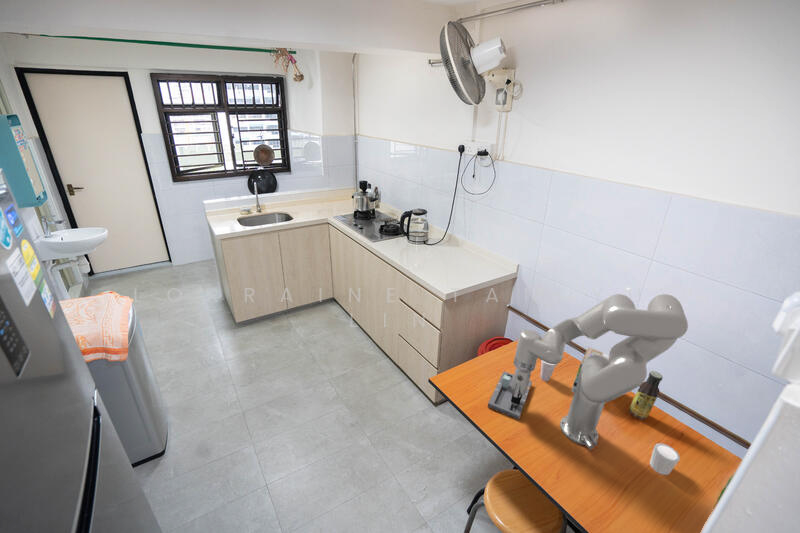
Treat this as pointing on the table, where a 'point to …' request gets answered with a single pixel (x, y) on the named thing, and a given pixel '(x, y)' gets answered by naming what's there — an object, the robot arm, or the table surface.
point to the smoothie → (546, 370)
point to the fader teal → (505, 382)
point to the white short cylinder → (663, 459)
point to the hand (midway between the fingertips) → (516, 400)
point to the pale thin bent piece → (587, 354)
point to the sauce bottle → (646, 396)
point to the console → (507, 398)
